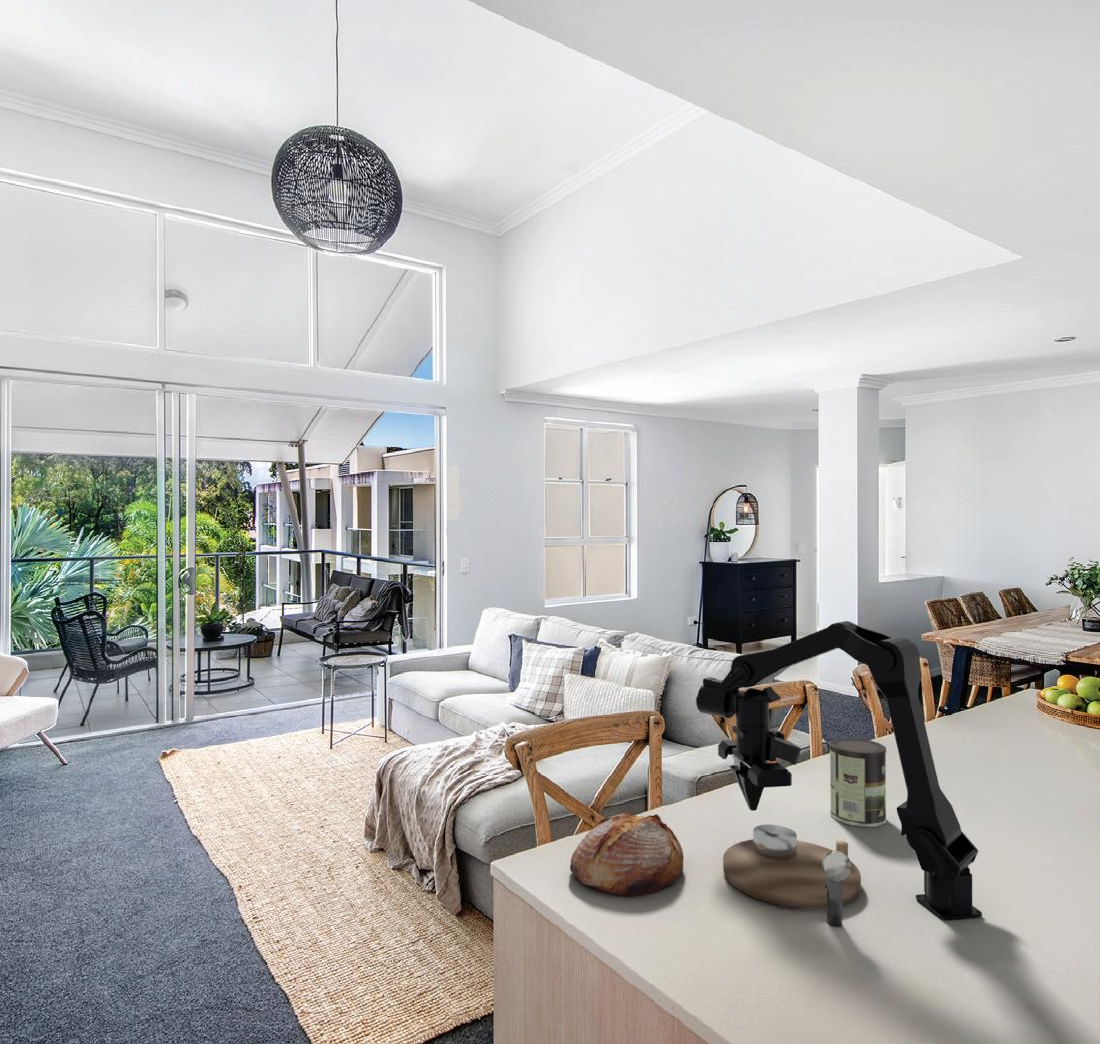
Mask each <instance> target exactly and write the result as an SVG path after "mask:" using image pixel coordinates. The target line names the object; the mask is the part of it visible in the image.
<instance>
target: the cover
mask: <svg viewBox="0 0 1100 1044" xmlns="http://www.w3.org/2000/svg"><path fill="white" fill-rule="evenodd" d="M752 839H753V850H754V851H755V852H756V853H757V854H758V855H760V856H762V857H765V858H769V859H774V860H788V859H792V858H794V857H795V856H796V854H797V833H796V831H794V830H793V829H791V828H789V827H786V826H782V825H779V824H778V825H777V824H760V825H756V826H755V827H754V828H753V829H752Z"/></svg>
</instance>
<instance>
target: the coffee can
mask: <svg viewBox="0 0 1100 1044" xmlns="http://www.w3.org/2000/svg"><path fill="white" fill-rule="evenodd" d="M828 743H829V756H830V757H829V759H830V761H829V764H830V766H829V769H830V770H829V771H830V772H829V775H830V776H829V777H830V779H829V780H830V781H829V783H830V786H829V787H830V788H829V789H830V791H829V792H830V797H829V798H830V811H829V814H830V816H831V817H832V818H833V819H834V820H836V821H837V822H839V823H842V824H845V825H848V826H852V827H860V828H878V827H881V826H884V825H885V824H886V823H887V801H886V800H887V799H886V797H887V796H886V795H887V793H886V792H887V791H886V785H887V784H886V783H887V781H886V780H887V779H886V778H887V775H886V772H887V771H886V770H887V769H886V768H887V767H886V764H887V763H886V762H887V761H886V759H887V758H886V756H887V755H886V753H887V748H886V746H885V745H883V744H882V743H880V742H876V741H873V740H869V739H868V740H867V739H862V738H857V737H856V738H854V737H853V738H852V737H841V738H835V739H832V740H830V741H829V742H828Z"/></svg>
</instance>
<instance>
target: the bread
mask: <svg viewBox="0 0 1100 1044" xmlns="http://www.w3.org/2000/svg"><path fill="white" fill-rule="evenodd" d="M569 870H570V871H571V873H572V877H573V878H574V879H575V880H578V881H580V883H581V884H582V885H585V886H587V887H590V888H595V889H598V890H599V891H603V892H607V893H610V894H614V895H617V896H618V895H619V896H625V897H631V896H636V895H643V894H644V895H645V894H652V893H654V892H657V891H659V890H664V889H666V888H668V887H670V886H671V885H672V884H673V883H674V884H675V882H676V880H678V879H679V877H680V876H681V874H682V872H683V871H684V850H683V848H682V845H681V843H680V841H679V840H678V838H677V836H676V834H675V833H674V832H673V830H672V829H671V828H670V827H669V826H668V825H667V824H666V822H664V821H662V818H661V817H660V816H659V814H657V813H656V814H654V815H650V814H649V815H648V816H641V815H640V816H639V815H638V816H637V815H634V814H627V813H623V812H622V813H619V814H615V815H612V816H608V817H606V818H603V819H600V821H598V823H597V824H596V825H595V826H594V827H593V828H592V829H590V831H588V833H587V834H586V835H585V837H583V838H582V839H581V841H580V842H579V843H578V845H577V846H576V848H575V850H574V851H573V853H572V856H571V858H570V865H569Z"/></svg>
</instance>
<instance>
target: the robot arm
mask: <svg viewBox="0 0 1100 1044" xmlns="http://www.w3.org/2000/svg"><path fill="white" fill-rule="evenodd" d="M837 649H839V650H841V651H843V652H844V653H846V654H847V655H849V657H851V658H853V659H854V660H855V661H857V662H860V663H861V664H864V665H866V666H867V667H868V670H869V673H870V674H871V677H872V679H873V682H874V684H875V685H876V687H877V689H879V691H880V693H882V694H881V695H883V697H884V699H885V700H886V704H887V709H888V713H889V717H890V721H891V726H892V729H893V735H894V739H895V743H896V747H897V752H898V756H899V761H900V765H901V770H902V774H903V779H904V783H905V786H906V793H907V795H906V800H905V801H903V803H901V804H900V805H898V806H897V807H896V814H897V816H898V819H899V821H900V825H901V832H900V836H902V837H904V836H905V839H906V841H907V844H908V846H909V847H910V849H912V850H913V851H914V852H915V855H916V858H917V860H918V864H919V866H920V869H921V870H922V871H923V881H924V882H923V887H924V888H923V893H922V894H921V893H919V894H916V895H915V899H916V900H917V901H918V902H920V903H921V904H922V905H923V906H924V907H926V908H928V910H930V911H931V912H932V913H933V914H935V915H936V916H937V917H939V919H942V920H958V919H967V918H970V919H971V918H978V917H979V918H980V917H983V912H982V911H981V910H979V909H978V908H976V907H975V906H974V905H973V874H972V872H971V869H970V867H969V866H970V865H971V864H973V863H974V862H975V860H976V858H977V856H978V853H979V850H978V848H977V846H975V844H974V843H973V842H972V841H971V840H970V839H969V838H968V837H967V835H966V834H965V833H964V832H963V831H962V827H961V825H960V822H959V820H958V817H957V815H956V812H955V810H954V808H953V805H952V803H951V802H950V801H949V800H948V798H947V797H946V795H945V794H944V792H943V791H942V789H941V787H940V784H939V779H938V778H939V777H938V775H937V770H936V767H935V762H934V757H933V754H932V749H931V745H930V741H929V736H928V732H927V729H926V723H925V720H924V715H923V712H922V707H921V703H920V697H919V688H920V680H921V672H922V671H921V659H920V650H919V649H918V646H917V645H916V644H915V643H914V642H912V641H911V640H909V639H908V638H905V637H902V636H894V637H891V636H889V635H888V634H885V633H882V632H878V631H875V630H872V629H868V628H867V627H862V626H860V625H857V624H856V623H853V622H851V621H849V620H844V621H839V622H838V621H837V622H834V623H831V624H830V625H829V626H828V627H825V628H823V629H820V630H818V631H816V632H813V633H810V634H808V635H806V636H803V637H801V638H797V639H796V640H793V641H791V642H788V643H785V644H783V645H781V646H778V647H775V648H771V649H765V650H764V649H763V650H759V651H754V652H749V653H747V654H746V653H745V654H741V655H738V656H735V657H734V658H733V660H731V664H730V671H729V672H728V673H727V675H725V677H724V679H719V678H718V679H717V678H715V677H711V676H709V677H704V678H703V679H702V685H701V686H700V687H699V690H698V691H697V695H696V699H695V704H696V707H697V710H698V711H699V712H700V713H702V714H706V715H711V716H715V717H720V718H724V719H731V718H733V717H734V716H735V720H736V721H735V722H736V723H735V724H736V725H732V726H731V727H732V728H731V731H732V733H734V734H735V737H736V738H735V739H727V740H721V742H720V743H718V745H717V755H718V757H720V758H721V759H723V760H727V759H728V756H730V755H731V756H732V759H734V760H733V765H732V764H731V765H730V766H729V768H730V770H731V772H732V774H733V775H734V777H735V780H736V782H737V784H738V787H739V788H740V792H741V794H742V796H743V797H744V800H745V802H746V805H747V807H748V809H749V810H750V811H752V812H754V811H757V810H758V807H759V804H760V801H761V797H762V796H763V795H762V794H763V791H764V789H765V788H778V787H779V788H780V787H791V786H792V785H793V782H792V781H793V775H792V773H791V772H790V771H789V769H788V768H786V767H784V766H783V764H780V763H779V762H777V759H779V760H782V761H786V762H789V763H790V764H791V765H794V766H796V765H797V763H798V760H799V757H800V753H801V751H802V747H800V746H798V745H797V744H795V743H793V742H791V741H790V740H788V739H785V734H784V733H783V732H782V731H779V730H777V729H770V710H769V709H770V704H771V703H774V702H777V701H780V700H781V696H780V695H779V694H778V693H777V692H776V691H775V690H774V689H773V687H772V686H767V687H765V688H763V689H759V688H753V687H755V686H759V685H763V684H766V683H768V682H770V681H772V680H773V679H776V677H778V676H780V675H781V674H782V673H784V672H785V671H786V670H787V669H789V668H791V667H792V666H795V665H797V664H800V663H804V662H805V661H808V660H811V659H813V658H816V657H818V656H822V655H824V654H827V653H829V652H832V651H834V650H837ZM742 688H744V689H746V690H745V691H744V690H740V689H742ZM768 761H769V762H768Z"/></svg>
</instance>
